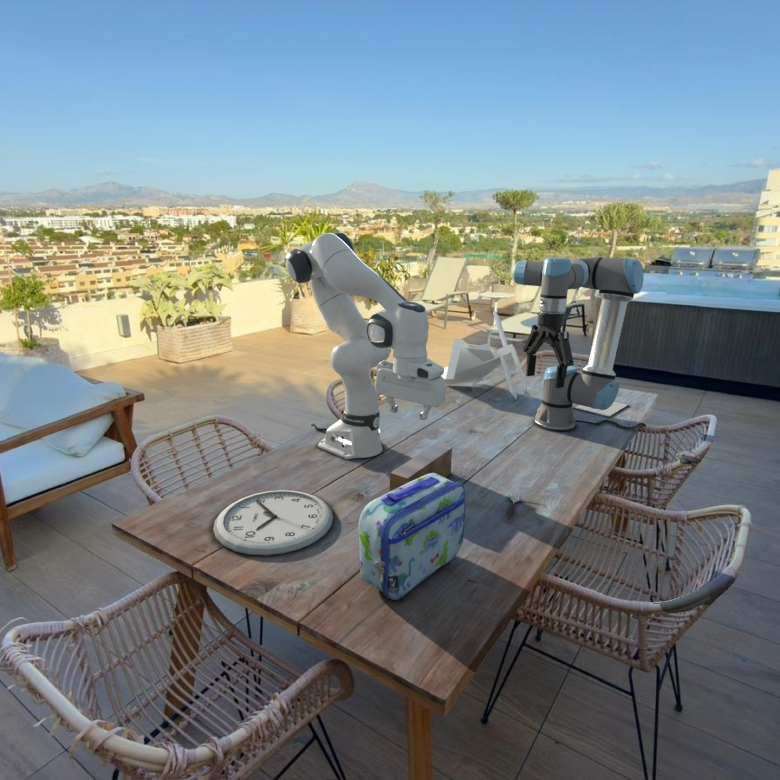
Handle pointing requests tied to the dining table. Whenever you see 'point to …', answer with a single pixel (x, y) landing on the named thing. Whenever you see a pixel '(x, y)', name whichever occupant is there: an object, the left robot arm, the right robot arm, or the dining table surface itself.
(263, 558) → the dining table surface
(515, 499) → the fork
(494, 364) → the white plastic object
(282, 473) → the dining table surface
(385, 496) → the lunch box
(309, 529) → the wall clock
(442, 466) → the bar
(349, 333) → the left robot arm
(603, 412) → the invitation card
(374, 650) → the dining table surface
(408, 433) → the dining table surface
